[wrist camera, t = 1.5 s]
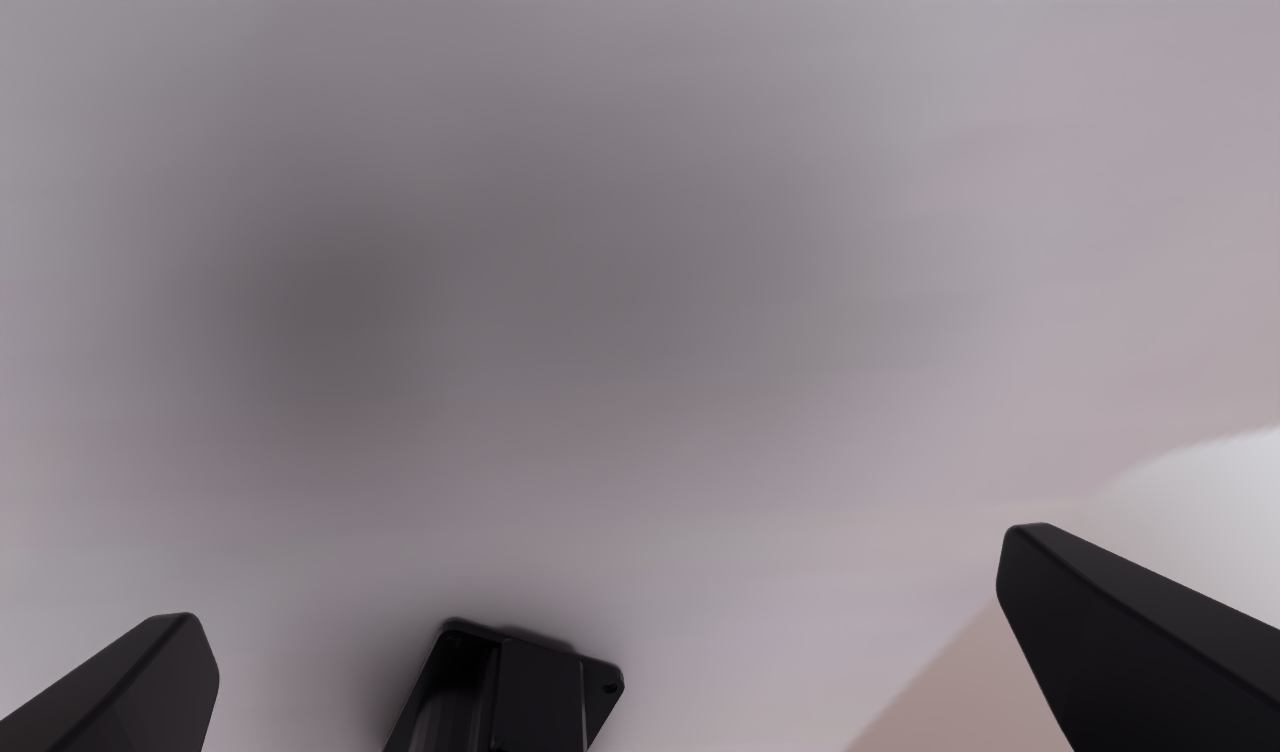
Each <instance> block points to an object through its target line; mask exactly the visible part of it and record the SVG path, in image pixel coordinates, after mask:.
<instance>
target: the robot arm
mask: <svg viewBox="0 0 1280 752" xmlns="http://www.w3.org/2000/svg"><path fill="white" fill-rule="evenodd" d="M996 593H997V597H998V600H999V603H1000V606H1001V608H1002V610H1003V612H1004V614H1005V616H1006V618H1007V620H1008V622H1009V624H1010V626H1011V629H1012V630H1013V633H1014V635H1015V637H1016V639H1017V641H1018V643H1019V645H1020V647H1021V649H1022V651H1023V653H1024V655H1025V658H1026V659H1027V662H1028V664H1029V666H1030V668H1031V670H1032V672H1033V674H1034V676H1035V678H1036V680H1037V682H1038V685H1039V687H1040V689H1041V691H1042V693H1043V695H1044V697H1045V699H1046V701H1047V703H1048V705H1049V707H1050V709H1051V711H1052V713H1053V715H1054V717H1055V719H1056V720H1057V723H1058V724H1059V726H1060V728H1061V730H1062V732H1063V733H1064V735H1065V736H1066V738H1067V740H1068V742H1069V744H1070V745H1071V747H1072V749H1073V750H1074V752H1280V630H1279V629H1277V628H1275V627H1273V626H1270V625H1268V624H1266V623H1264V622H1262V621H1260V620H1257V619H1255V618H1253V617H1251V616H1249V615H1247V614H1244V613H1242V612H1240V611H1238V610H1235V609H1234V608H1231V607H1229V606H1227V605H1225V604H1223V603H1220V602H1218V601H1216V600H1213V599H1212V598H1210V597H1207V596H1205V595H1203V594H1201V593H1199V592H1197V591H1194V590H1192V589H1190V588H1188V587H1186V586H1183V585H1181V584H1179V583H1177V582H1175V581H1172V580H1170V579H1168V578H1166V577H1164V576H1162V575H1159V574H1157V573H1155V572H1153V571H1151V570H1149V569H1147V568H1144V567H1142V566H1140V565H1138V564H1136V563H1133V562H1131V561H1129V560H1127V559H1125V558H1123V557H1120V556H1118V555H1116V554H1114V553H1112V552H1110V551H1107V550H1105V549H1103V548H1101V547H1098V546H1097V545H1094V544H1092V543H1090V542H1088V541H1085V540H1084V539H1081V538H1079V537H1077V536H1075V535H1073V534H1070V533H1068V532H1066V531H1064V530H1062V529H1060V528H1058V527H1055V526H1053V525H1051V524H1048V523H1042V522H1041V523H1030V524H1021V525H1014V526H1012V527H1010V528H1009V529H1008V530H1007V531H1006V533H1005V536H1004V540H1003V545H1002V551H1001V556H1000V562H999V567H998V572H997V578H996ZM450 636H457V637H459V639H451V638H449V637H450ZM608 682H613V684H610V685H607V684H605V683H608ZM624 688H625V686H624V678H623V674H622V673H621V671H620V670H618V669H616V668H612V667H609V666H606V665H603V664H599V663H596V662H593V661H589V660H586V659H583V658H579V657H576V656H573V655H569V654H566V653H563V652H559V651H556V650H553V649H549V648H546V647H543V646H539V645H536V644H533V643H530V642H526V641H523V640H520V639H516V638H513V637H510V636H506V635H503V634H500V633H496V632H493V631H490V630H486V629H483V628H480V627H476V626H473V625H470V624H466V623H463V622H459V621H451V622H447V623H446V624H444V625H443V626H442V627H441V628H440V630H439V632H438V634H437V636H436V638H435V640H434V642H433V644H432V646H431V648H430V650H429V653H428V655H427V657H426V659H425V661H424V663H423V665H422V667H421V669H420V671H419V673H418V675H417V677H416V679H415V681H414V683H413V685H412V688H411V690H410V692H409V694H408V696H407V698H406V700H405V702H404V704H403V706H402V708H401V710H400V712H399V714H398V716H397V718H396V720H395V722H394V725H393V727H392V729H391V731H390V733H389V735H388V737H387V739H386V741H385V743H384V745H383V747H382V751H381V752H587V750H588V749H589V747H590V745H591V744H592V742H593V741H594V739H595V737H596V736H597V734H598V732H599V731H600V729H601V727H602V726H603V724H604V722H605V721H606V719H607V718H608V716H609V714H610V713H611V711H612V709H613V708H614V706H615V704H616V703H617V701H618V700H619V698H620V696H621V695H622V693H623V691H624ZM218 689H219V669H218V666H217V663H216V660H215V658H214V655H213V653H212V650H211V648H210V645H209V643H208V640H207V637H206V635H205V632H204V630H203V627H202V625H201V623H200V621H199V619H198V618H197V617H196V616H195V615H194V614H192V613H189V612H182V613H173V614H163V615H156V616H152V617H150V618H148V619H146V620H144V621H143V622H141V623H140V624H139V625H137V626H136V627H134V628H133V629H131V630H130V631H129V632H127V633H126V634H124V635H123V636H121V637H120V638H119V639H117V640H116V641H114V642H113V643H111V644H110V645H108V646H107V647H106V648H104V649H103V650H101V651H100V652H98V653H97V654H96V655H94V656H93V657H91V658H90V659H88V660H87V661H86V662H84V663H83V664H81V665H80V666H78V667H77V668H75V669H74V670H73V671H71V672H70V673H68V674H67V675H65V676H64V677H63V678H61V679H60V680H58V681H57V682H55V683H54V684H53V685H51V686H50V687H48V688H47V689H45V690H44V691H42V692H41V693H40V694H38V695H37V696H35V697H34V698H32V699H31V700H30V701H28V702H27V703H25V704H24V705H22V706H21V707H20V708H18V709H17V710H15V711H14V712H12V713H11V714H9V715H8V716H7V717H5V718H4V719H2V720H1V721H0V752H201V750H202V746H203V743H204V739H205V736H206V732H207V729H208V725H209V722H210V718H211V715H212V711H213V708H214V704H215V701H216V697H217V693H218Z"/></svg>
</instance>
